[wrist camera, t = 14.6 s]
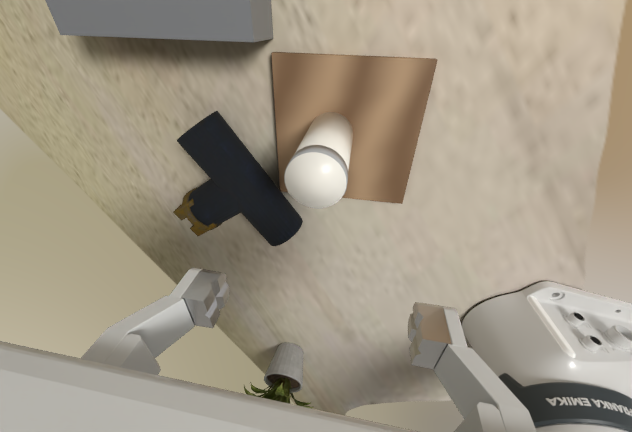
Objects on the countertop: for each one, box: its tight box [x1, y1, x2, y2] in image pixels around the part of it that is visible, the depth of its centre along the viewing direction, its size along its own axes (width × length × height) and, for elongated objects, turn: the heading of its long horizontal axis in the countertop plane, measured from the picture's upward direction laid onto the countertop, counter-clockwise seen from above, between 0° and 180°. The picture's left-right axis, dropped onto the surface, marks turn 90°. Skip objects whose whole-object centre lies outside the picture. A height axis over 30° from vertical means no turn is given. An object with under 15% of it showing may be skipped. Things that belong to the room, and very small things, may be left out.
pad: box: [271, 52, 437, 204], centre depth 28 cm, size 14×14×1 cm
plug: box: [284, 112, 353, 209], centre depth 23 cm, size 4×4×10 cm
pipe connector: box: [173, 111, 303, 246], centre depth 32 cm, size 12×5×15 cm
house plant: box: [244, 343, 313, 408], centre depth 47 cm, size 14×14×16 cm
